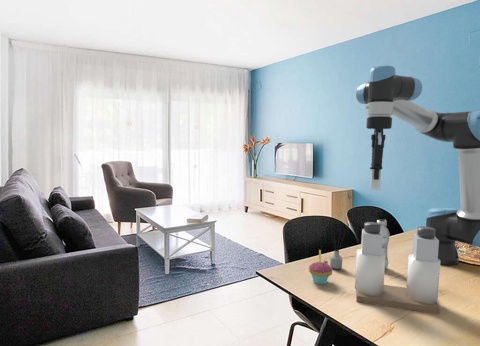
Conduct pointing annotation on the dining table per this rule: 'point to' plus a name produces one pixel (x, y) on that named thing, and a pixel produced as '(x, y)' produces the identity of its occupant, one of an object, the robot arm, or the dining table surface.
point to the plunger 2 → (426, 232)
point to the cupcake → (320, 271)
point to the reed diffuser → (336, 253)
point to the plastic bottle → (384, 239)
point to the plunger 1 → (372, 227)
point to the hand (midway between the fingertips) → (375, 189)
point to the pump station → (418, 276)
